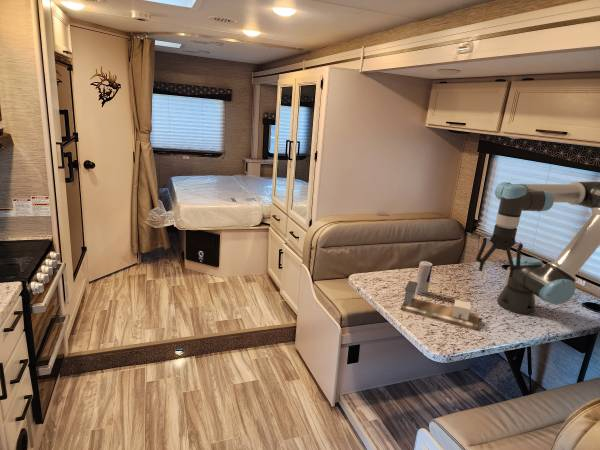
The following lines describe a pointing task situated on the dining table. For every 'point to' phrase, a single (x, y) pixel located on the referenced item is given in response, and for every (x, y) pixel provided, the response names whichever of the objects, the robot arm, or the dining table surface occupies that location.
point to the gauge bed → (440, 313)
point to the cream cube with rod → (461, 310)
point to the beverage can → (423, 277)
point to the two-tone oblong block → (410, 293)
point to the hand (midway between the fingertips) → (493, 281)
